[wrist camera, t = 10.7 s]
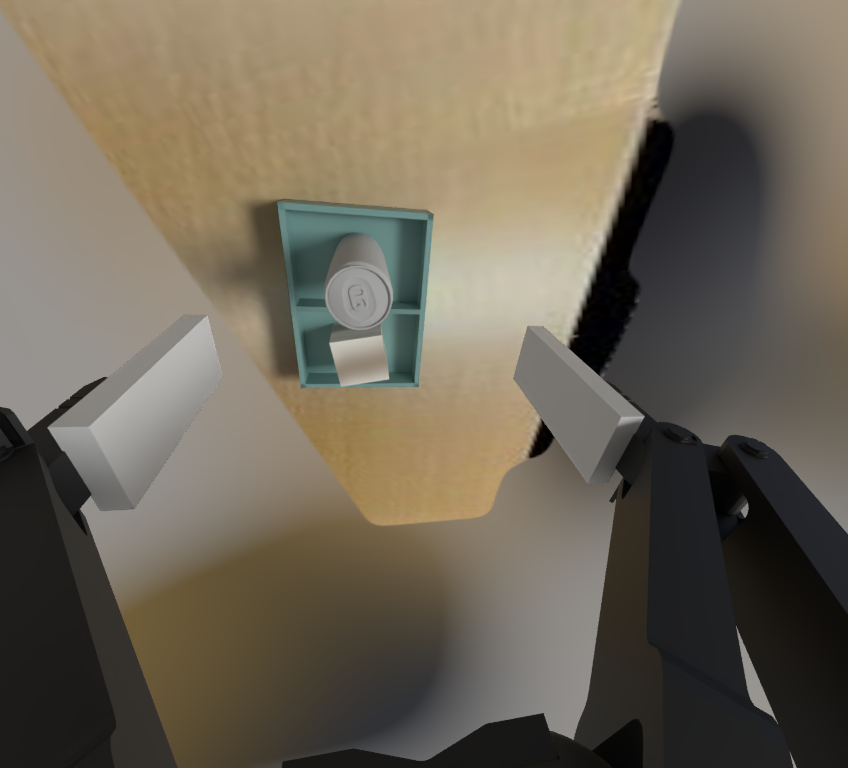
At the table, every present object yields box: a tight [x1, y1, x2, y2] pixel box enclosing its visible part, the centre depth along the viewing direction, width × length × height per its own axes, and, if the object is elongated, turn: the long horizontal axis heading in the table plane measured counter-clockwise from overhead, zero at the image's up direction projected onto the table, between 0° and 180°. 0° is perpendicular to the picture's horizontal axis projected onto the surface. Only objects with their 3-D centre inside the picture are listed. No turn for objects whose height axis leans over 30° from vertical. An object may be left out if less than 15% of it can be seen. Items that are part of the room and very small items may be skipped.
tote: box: [277, 199, 434, 388], centre depth 35 cm, size 18×13×4 cm
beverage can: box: [324, 233, 393, 330], centre depth 28 cm, size 5×5×12 cm
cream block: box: [329, 322, 389, 387], centre depth 36 cm, size 5×5×5 cm
